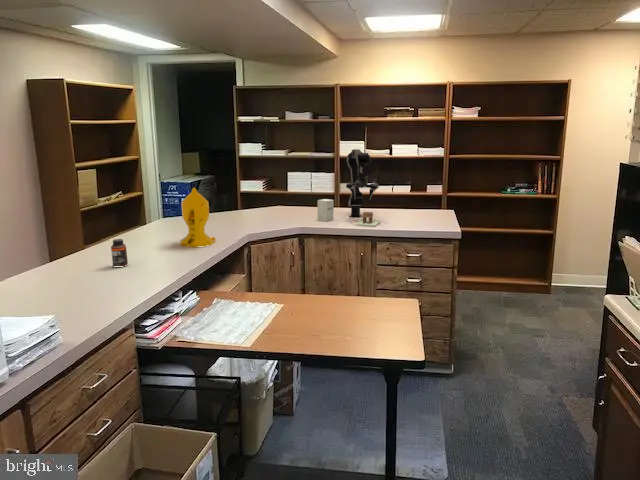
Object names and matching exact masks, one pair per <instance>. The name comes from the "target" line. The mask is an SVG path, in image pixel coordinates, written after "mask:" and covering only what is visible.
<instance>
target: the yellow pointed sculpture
mask: <svg viewBox="0 0 640 480" xmlns="http://www.w3.org/2000/svg"><path fill="white" fill-rule="evenodd" d="M209 204H210V203H209V201H208V200H207V199H206V198H205V197H204V196H203V195H202V194H201V193H199V192H198V190H197V188H196V187H193V188H192V189H191V192H189V194H187V195H186V197H185V198H184V199H183V200H182V201H181V215H182V216H181V218H182V219H183V221H184V222H185V224H186V225H187V229H188V233H187V234H186V236H185V237H183V238H181V239H179V244H180V246H181V245H182V246H181V247H183V246H189V247H198V246H206V245H211V244H213V243H214V244H215V241H217V240H216V237H214V236H209V235H207V233H206V232H205V227H206V224H207V223H208V221H209V218H210V205H209ZM214 244H213V245H214ZM211 246H212V245H211Z"/></svg>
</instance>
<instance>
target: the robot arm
mask: <svg viewBox="0 0 640 480" xmlns="http://www.w3.org/2000/svg"><path fill="white" fill-rule="evenodd" d="M371 159H372V158H371V156H370V154H369V152H363V151H361V149H356V148H355V149H352V150H351V151H350V153H348V154H347V157H346V163H347V166H348V169H349V170H350V176H351V177H350V178H351V182H347V183H346V185H345V187H346V188H347V189H348V190H350V192H351V194H350V196H349V200H348V204H347V205H348V207H349V208H350V214H349V218H350V217H353V218H355V217H356V218H360V217H361V216H362V214H361V208H363V207H364V202H365V199H364V197H363V192H361V191H360V188H361V189H363V188H368V189H369V188H370V189H369V194H368V200H369V201H371V199H372V196H373V194H374V191H376V190H377V189H379V187H380V186H379V183H372V182H371V183H370V184H368V183H369V182H368V177H369V176H370V175H371V174H372V167H371V165H372V160H371ZM346 188H345V189H346Z"/></svg>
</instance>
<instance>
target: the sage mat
mask: <svg viewBox="0 0 640 480" xmlns="http://www.w3.org/2000/svg"><path fill="white" fill-rule="evenodd" d="M380 224H381V221H376V220H372V223H371V224H369V220H366V222H365V223H363V219H362V220H361V219H360V220H359V221H357V222H355V224H354V226H355V227H356V226H357V227H369V228H370V227H371V228H376V227H377V226H378V225H380Z"/></svg>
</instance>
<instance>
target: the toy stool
mask: <svg viewBox="0 0 640 480" xmlns="http://www.w3.org/2000/svg"><path fill="white" fill-rule="evenodd" d="M373 214H374V212H373V211H372V212H371V211H364V212H362V220H363V223H365V222H366V221H367V219H368V221H369V224H371V223H372V221H373V216H374V215H373Z"/></svg>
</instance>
